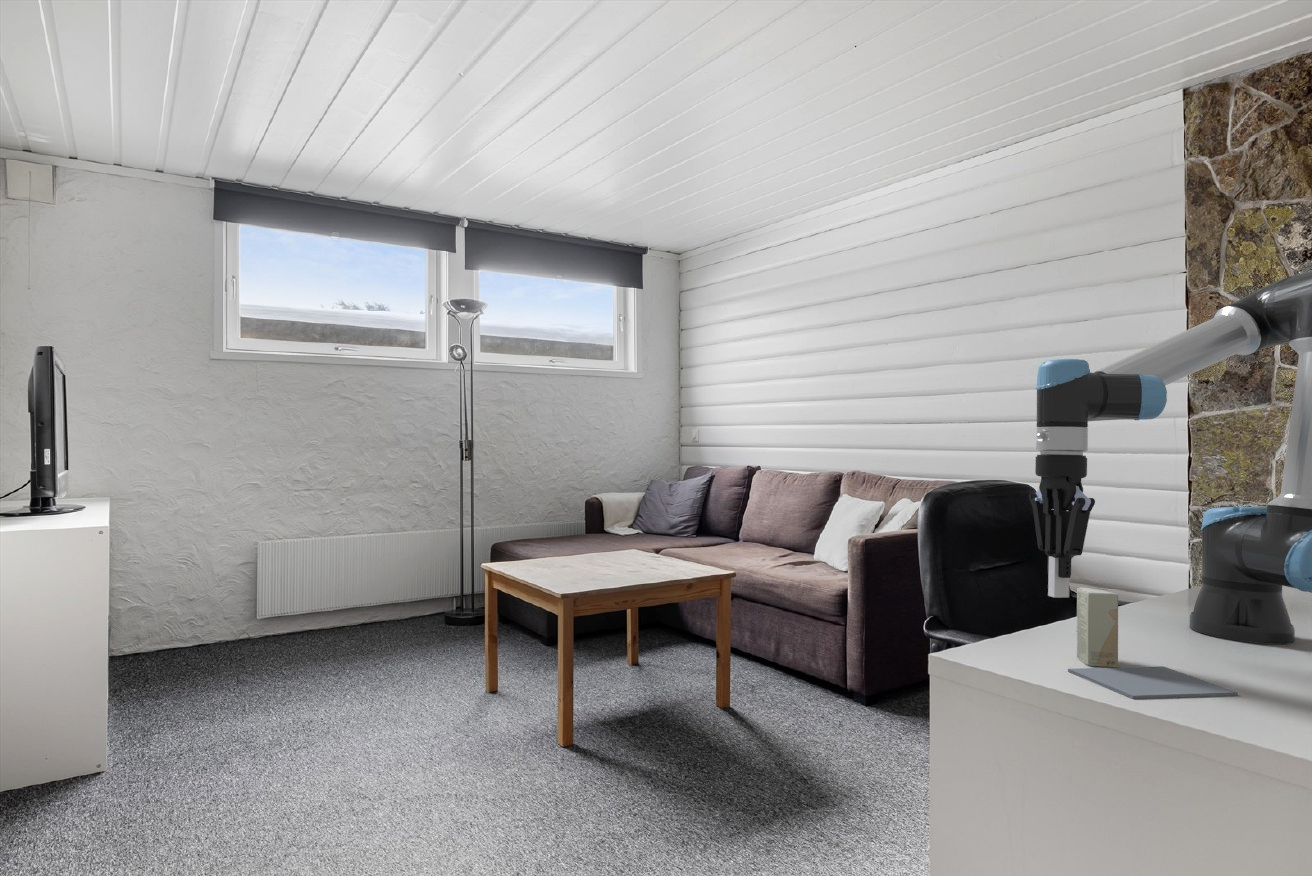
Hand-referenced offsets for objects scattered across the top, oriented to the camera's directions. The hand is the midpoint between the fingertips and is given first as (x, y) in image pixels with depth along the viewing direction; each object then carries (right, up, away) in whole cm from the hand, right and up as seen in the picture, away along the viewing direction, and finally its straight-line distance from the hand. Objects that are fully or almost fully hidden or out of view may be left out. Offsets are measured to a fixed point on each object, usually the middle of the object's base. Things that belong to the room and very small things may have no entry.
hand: (1058, 596), depth 124 cm
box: (+1, -9, -9) cm, 12 cm away
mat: (+3, -8, -18) cm, 20 cm away
